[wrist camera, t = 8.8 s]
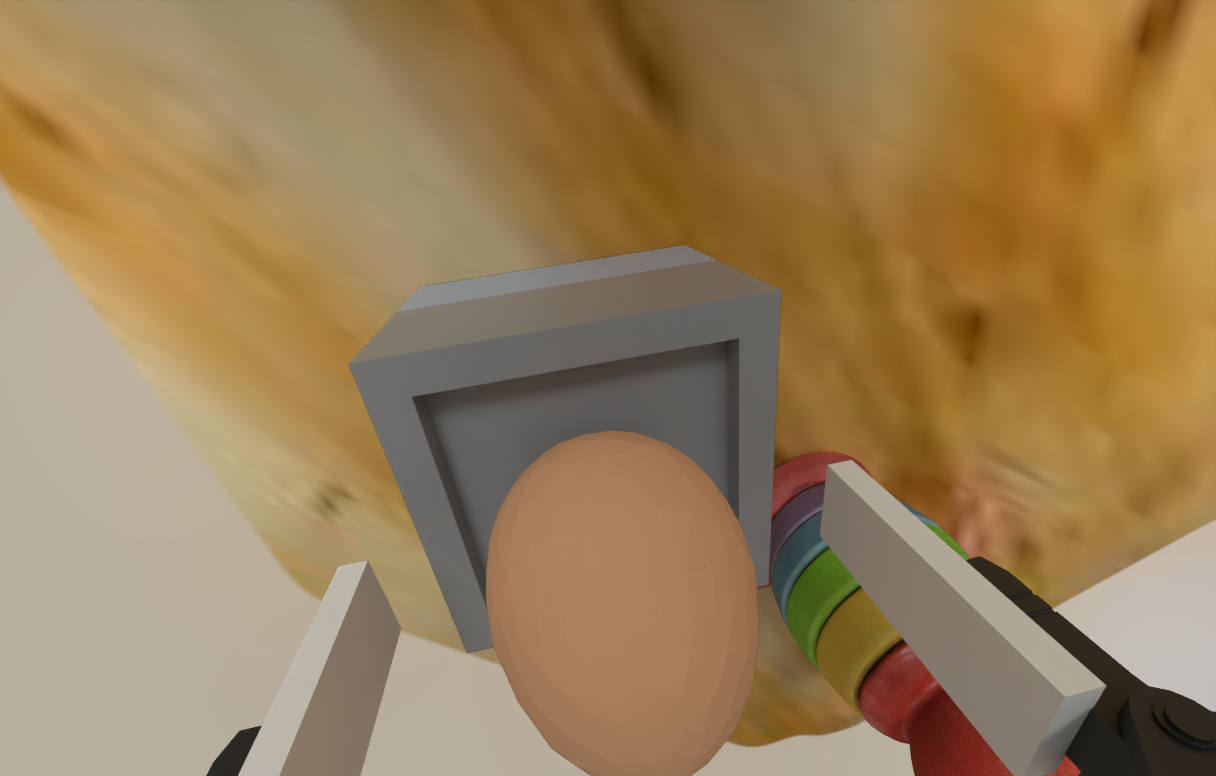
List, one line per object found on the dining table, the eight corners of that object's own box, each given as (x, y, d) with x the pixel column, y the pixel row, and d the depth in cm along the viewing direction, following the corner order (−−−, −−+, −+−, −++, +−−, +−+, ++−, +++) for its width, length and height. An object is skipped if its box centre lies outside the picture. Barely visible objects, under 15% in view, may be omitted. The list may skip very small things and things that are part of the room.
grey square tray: (419, 286, 20) (348, 363, 12) (684, 244, 21) (781, 289, 13) (486, 500, 25) (467, 653, 17) (695, 458, 26) (768, 584, 18)
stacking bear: (714, 579, 31) (910, 1008, 15) (734, 453, 27) (1037, 865, 11) (858, 562, 33) (1173, 933, 17) (899, 440, 28) (1374, 784, 12)
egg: (494, 553, 17) (464, 902, 9) (497, 382, 14) (456, 651, 6) (673, 548, 18) (791, 846, 10) (705, 390, 15) (905, 620, 7)
